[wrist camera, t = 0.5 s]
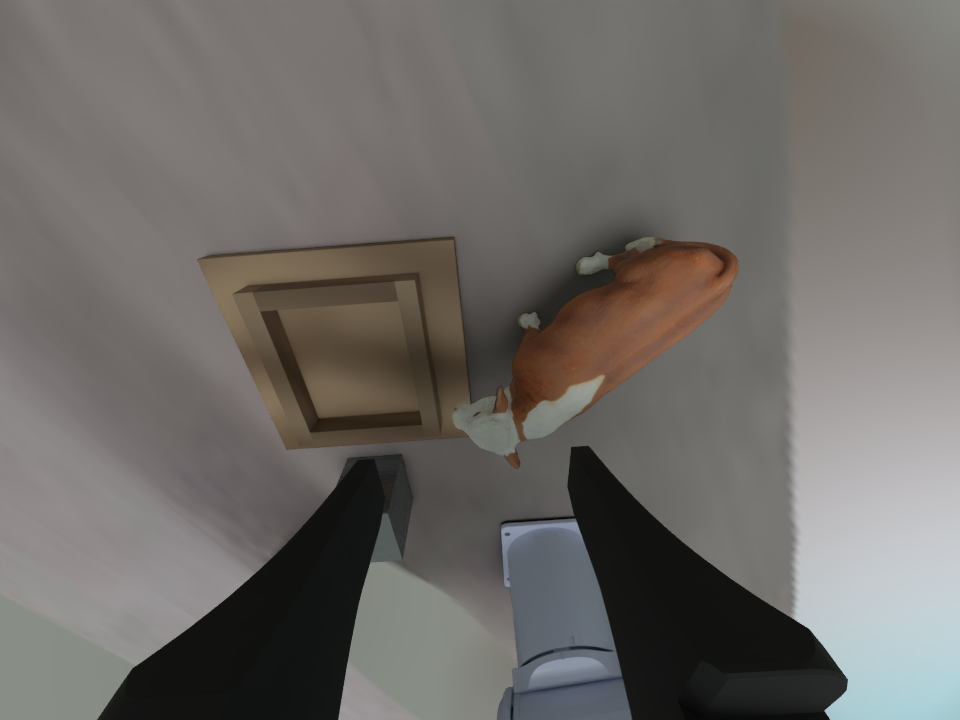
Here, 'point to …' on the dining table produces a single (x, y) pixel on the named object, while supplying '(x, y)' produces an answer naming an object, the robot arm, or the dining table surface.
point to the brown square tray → (349, 338)
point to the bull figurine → (600, 338)
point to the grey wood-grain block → (390, 506)
